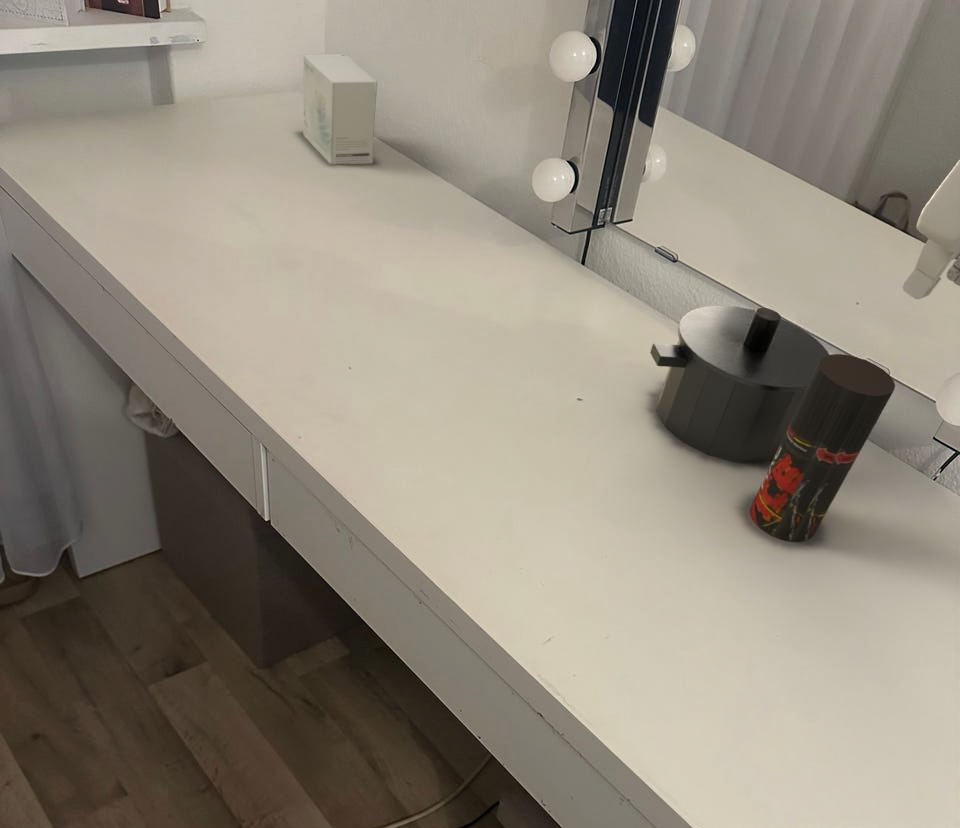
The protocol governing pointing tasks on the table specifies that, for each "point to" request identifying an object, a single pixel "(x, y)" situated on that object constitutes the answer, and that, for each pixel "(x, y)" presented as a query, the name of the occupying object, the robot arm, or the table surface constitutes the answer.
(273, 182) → the table surface
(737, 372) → the pot lid
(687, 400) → the pot
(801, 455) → the deodorant
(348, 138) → the cosmetics box
